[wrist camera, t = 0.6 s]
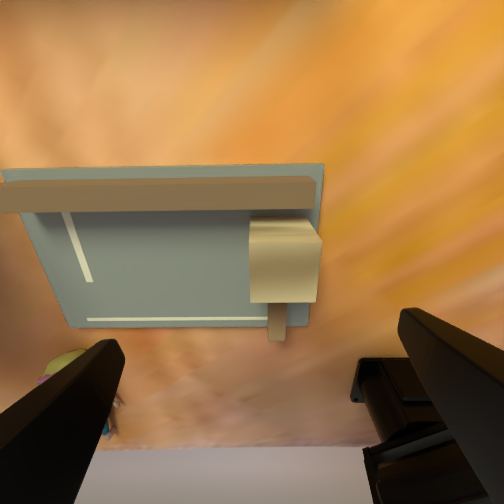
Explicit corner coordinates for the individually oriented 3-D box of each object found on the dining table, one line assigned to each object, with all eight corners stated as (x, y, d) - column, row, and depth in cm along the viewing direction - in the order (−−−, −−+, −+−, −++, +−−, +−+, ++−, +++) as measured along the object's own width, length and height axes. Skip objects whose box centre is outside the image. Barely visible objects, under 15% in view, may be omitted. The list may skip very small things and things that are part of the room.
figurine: (132, 420, 32) (111, 341, 25) (115, 462, 28) (84, 382, 21) (86, 417, 32) (51, 336, 24) (63, 458, 28) (13, 377, 21)
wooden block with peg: (297, 322, 22) (307, 370, 18) (252, 323, 22) (252, 370, 18) (305, 215, 18) (322, 242, 13) (250, 216, 18) (248, 243, 13)
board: (305, 320, 23) (313, 348, 20) (75, 321, 23) (49, 349, 20) (321, 163, 17) (335, 169, 14) (10, 168, 17) (-40, 175, 14)
